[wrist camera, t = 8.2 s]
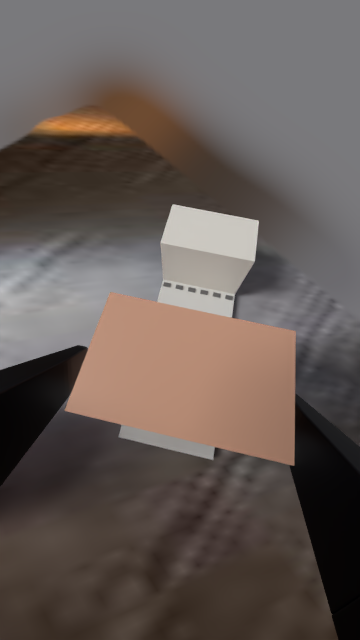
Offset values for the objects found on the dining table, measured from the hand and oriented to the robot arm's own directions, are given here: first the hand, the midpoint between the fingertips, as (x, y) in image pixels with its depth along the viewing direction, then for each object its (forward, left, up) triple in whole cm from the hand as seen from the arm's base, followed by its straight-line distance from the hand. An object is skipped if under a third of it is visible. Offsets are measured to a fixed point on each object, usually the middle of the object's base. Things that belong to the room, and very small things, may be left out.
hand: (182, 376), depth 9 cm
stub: (0, 0, -7) cm, 7 cm away
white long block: (+3, -3, -8) cm, 9 cm away
